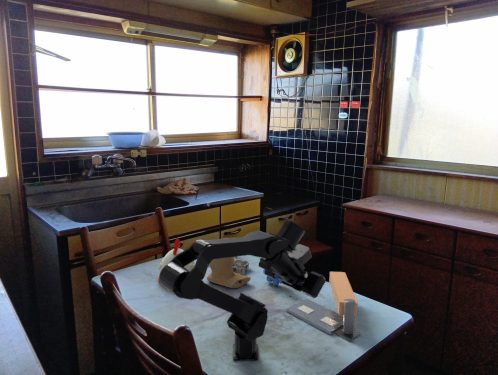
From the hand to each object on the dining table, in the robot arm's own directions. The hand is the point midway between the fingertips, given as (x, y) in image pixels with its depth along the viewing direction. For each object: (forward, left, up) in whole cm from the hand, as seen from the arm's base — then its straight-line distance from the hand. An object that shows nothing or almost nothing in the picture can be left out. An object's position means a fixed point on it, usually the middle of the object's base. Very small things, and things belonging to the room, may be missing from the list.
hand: (306, 289), depth 112 cm
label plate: (+2, -4, -10) cm, 11 cm away
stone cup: (+26, +25, -11) cm, 38 cm away
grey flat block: (-7, -11, -10) cm, 17 cm away
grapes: (+25, +6, -11) cm, 28 cm away
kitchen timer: (+30, +43, -11) cm, 54 cm away
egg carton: (+39, +21, -11) cm, 46 cm away
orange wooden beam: (+3, -12, -9) cm, 16 cm away
